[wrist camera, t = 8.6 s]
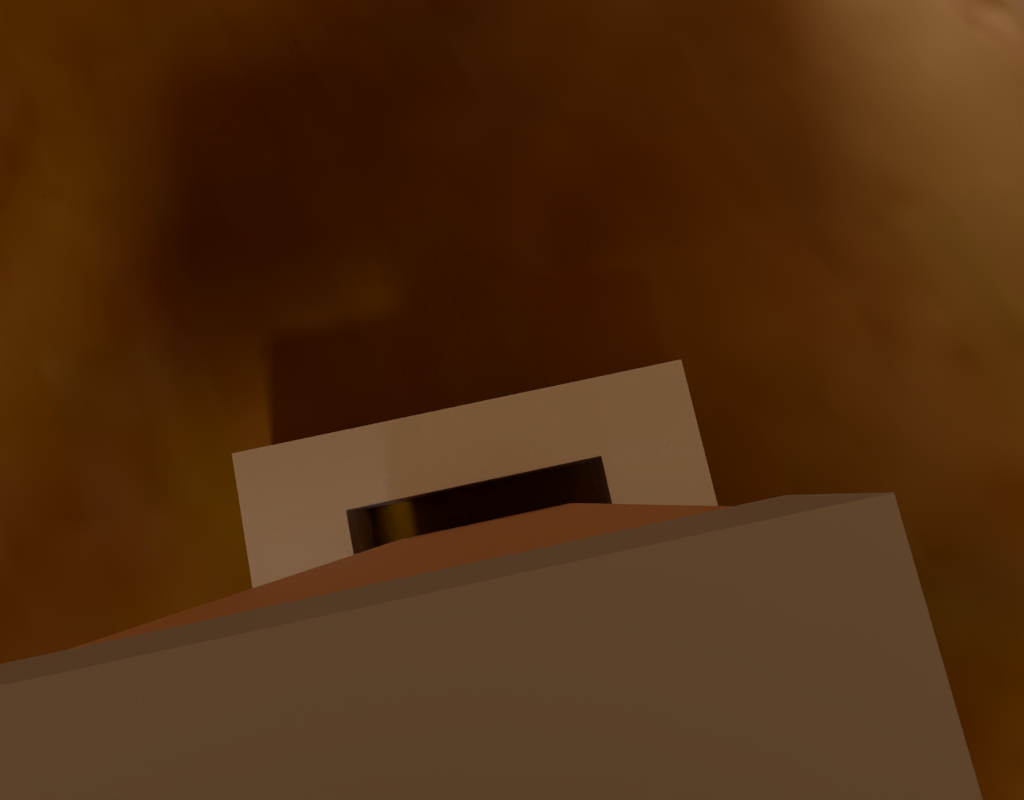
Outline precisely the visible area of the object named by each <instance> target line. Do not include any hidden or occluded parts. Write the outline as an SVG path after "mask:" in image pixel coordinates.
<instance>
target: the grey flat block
mask: <svg viewBox="0 0 1024 800" xmlns="http://www.w3.org/2000/svg"><path fill="white" fill-rule="evenodd" d="M232 458H233V464H234V470H235V477H236V483H237V490H238V496H239V503H240V509H241V516H242V522H243V529H244V535H245V541H246V548H247V554H248V561H249V567H250V574H251V580H252V587H253V588H255V587H258V586H261V585H264V584H267V583H270V582H273V581H276V580H279V579H282V578H285V577H288V576H291V575H294V574H297V573H300V572H303V571H306V570H309V569H312V568H315V567H318V566H321V565H324V564H327V563H330V562H333V561H336V560H339V559H343V558H346V557H349V556H352V555H355V554H358V553H361V552H364V551H367V550H370V549H373V548H376V541H375V535H374V530H373V524H372V519H371V513H370V508H375V507H379V506H384V505H389V504H393V503H398V502H403V501H408V500H412V499H417V498H422V497H426V496H431V495H436V494H440V493H445V492H450V491H454V490H459V489H464V488H468V487H473V486H478V485H483V484H487V483H492V482H497V481H501V480H506V479H511V478H515V477H520V476H525V475H529V474H534V473H539V472H543V471H548V470H553V469H558V468H562V467H567V466H572V465H576V464H581V463H586V462H589V465H590V470H591V474H592V478H593V483H594V487H595V492H596V496H597V501H598V504H647V505H698V506H718V504H717V500H716V496H715V492H714V488H713V484H712V480H711V476H710V472H709V468H708V464H707V460H706V456H705V452H704V448H703V444H702V440H701V436H700V432H699V428H698V424H697V420H696V416H695V412H694V408H693V404H692V400H691V396H690V392H689V388H688V384H687V380H686V376H685V372H684V368H683V364H682V360H681V359H680V360H676V361H671V362H666V363H661V364H657V365H652V366H647V367H642V368H637V369H633V370H628V371H623V372H618V373H614V374H609V375H604V376H599V377H595V378H590V379H585V380H580V381H576V382H571V383H566V384H561V385H556V386H552V387H547V388H542V389H537V390H533V391H528V392H523V393H518V394H514V395H509V396H504V397H499V398H494V399H490V400H485V401H480V402H475V403H471V404H466V405H461V406H456V407H452V408H447V409H442V410H437V411H433V412H428V413H423V414H418V415H413V416H409V417H404V418H399V419H394V420H390V421H385V422H380V423H375V424H371V425H366V426H361V427H356V428H351V429H347V430H342V431H337V432H332V433H328V434H323V435H318V436H313V437H309V438H304V439H299V440H294V441H290V442H285V443H280V444H275V445H270V446H266V447H261V448H256V449H251V450H247V451H242V452H237V453H232Z"/></svg>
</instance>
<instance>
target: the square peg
mask: <svg viewBox="0 0 1024 800" xmlns="http://www.w3.org/2000/svg"><path fill="white" fill-rule="evenodd" d="M0 800H983V799H982V796H981V792H980V789H979V785H978V782H977V778H976V775H975V771H974V768H973V764H972V761H971V757H970V754H969V751H968V747H967V744H966V740H965V737H964V733H963V730H962V726H961V723H960V719H959V716H958V712H957V709H956V705H955V702H954V699H953V695H952V692H951V688H950V685H949V681H948V678H947V674H946V671H945V667H944V664H943V660H942V657H941V653H940V650H939V647H938V643H937V640H936V636H935V633H934V629H933V626H932V622H931V619H930V615H929V612H928V608H927V605H926V601H925V598H924V595H923V591H922V588H921V584H920V581H919V577H918V574H917V570H916V567H915V563H914V560H913V556H912V553H911V549H910V546H909V543H908V539H907V536H906V532H905V529H904V525H903V522H902V518H901V515H900V511H899V508H898V504H897V501H896V497H895V494H894V492H888V493H847V494H807V495H783V496H779V497H774V498H769V499H765V500H760V501H755V502H751V503H746V504H741V505H737V506H698V505H647V504H597V503H567V504H562V505H558V506H553V507H548V508H544V509H539V510H534V511H530V512H525V513H520V514H516V515H511V516H506V517H501V518H497V519H492V520H487V521H483V522H478V523H473V524H469V525H464V526H459V527H455V528H450V529H445V530H441V531H436V532H431V533H427V534H422V535H417V536H413V537H408V538H403V539H400V540H397V541H394V542H391V543H388V544H385V545H382V546H379V547H376V548H373V549H370V550H367V551H364V552H361V553H358V554H355V555H352V556H349V557H346V558H343V559H339V560H336V561H333V562H330V563H327V564H324V565H321V566H318V567H315V568H312V569H309V570H306V571H303V572H300V573H297V574H294V575H291V576H288V577H285V578H282V579H279V580H276V581H273V582H270V583H267V584H264V585H261V586H258V587H255V588H252V589H249V590H246V591H243V592H240V593H237V594H234V595H231V596H228V597H225V598H222V599H219V600H216V601H213V602H210V603H207V604H204V605H201V606H198V607H195V608H192V609H189V610H186V611H183V612H180V613H177V614H174V615H171V616H168V617H165V618H162V619H158V620H155V621H152V622H149V623H146V624H143V625H140V626H137V627H134V628H131V629H128V630H125V631H122V632H119V633H116V634H113V635H110V636H107V637H104V638H101V639H98V640H95V641H92V642H89V643H86V644H83V645H80V646H77V647H74V648H71V649H68V650H65V651H60V652H55V653H51V654H46V655H41V656H37V657H32V658H27V659H23V660H18V661H14V662H9V663H4V664H0Z"/></svg>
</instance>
